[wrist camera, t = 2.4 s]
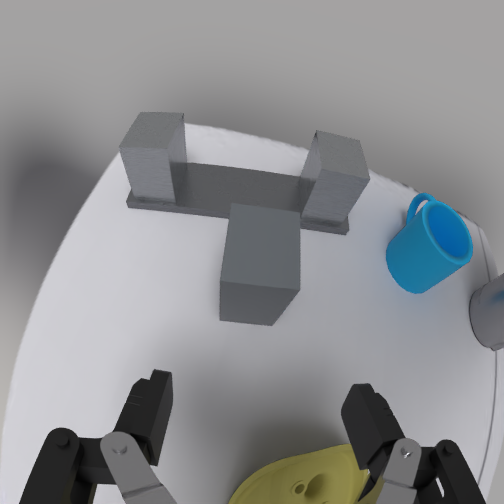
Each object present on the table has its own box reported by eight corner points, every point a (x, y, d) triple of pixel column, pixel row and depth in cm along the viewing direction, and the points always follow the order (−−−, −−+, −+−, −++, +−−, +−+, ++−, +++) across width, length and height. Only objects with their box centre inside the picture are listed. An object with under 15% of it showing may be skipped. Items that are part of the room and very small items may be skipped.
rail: (339, 190, 35) (366, 140, 27) (345, 235, 32) (380, 185, 24) (145, 166, 34) (134, 110, 26) (128, 207, 30) (107, 150, 22)
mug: (437, 296, 30) (479, 269, 22) (388, 290, 29) (430, 258, 22) (423, 220, 35) (454, 186, 28) (378, 208, 35) (407, 168, 28)
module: (275, 267, 29) (299, 210, 20) (271, 326, 26) (299, 289, 17) (227, 261, 29) (231, 200, 20) (219, 320, 26) (220, 280, 17)
